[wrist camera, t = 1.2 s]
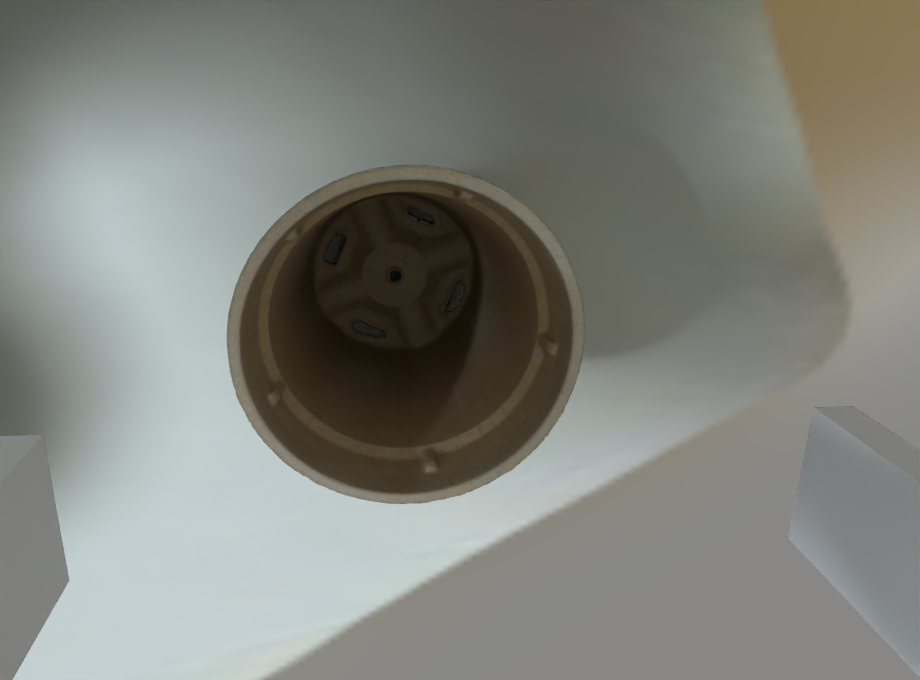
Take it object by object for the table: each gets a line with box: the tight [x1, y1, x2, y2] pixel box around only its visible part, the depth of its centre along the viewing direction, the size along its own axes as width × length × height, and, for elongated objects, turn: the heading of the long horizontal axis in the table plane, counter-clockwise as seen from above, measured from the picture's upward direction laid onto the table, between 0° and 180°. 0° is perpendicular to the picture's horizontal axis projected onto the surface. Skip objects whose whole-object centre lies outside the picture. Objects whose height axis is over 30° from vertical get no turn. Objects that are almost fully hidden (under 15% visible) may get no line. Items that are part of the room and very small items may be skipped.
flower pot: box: [227, 165, 585, 504], centre depth 23 cm, size 9×9×9 cm
